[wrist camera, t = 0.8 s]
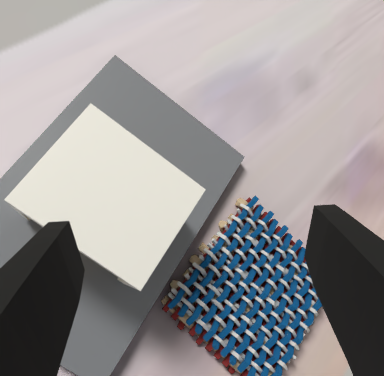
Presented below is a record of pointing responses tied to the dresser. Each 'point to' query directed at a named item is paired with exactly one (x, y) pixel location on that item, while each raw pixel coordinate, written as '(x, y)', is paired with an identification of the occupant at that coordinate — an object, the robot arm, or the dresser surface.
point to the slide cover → (109, 196)
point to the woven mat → (247, 294)
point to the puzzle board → (144, 300)
